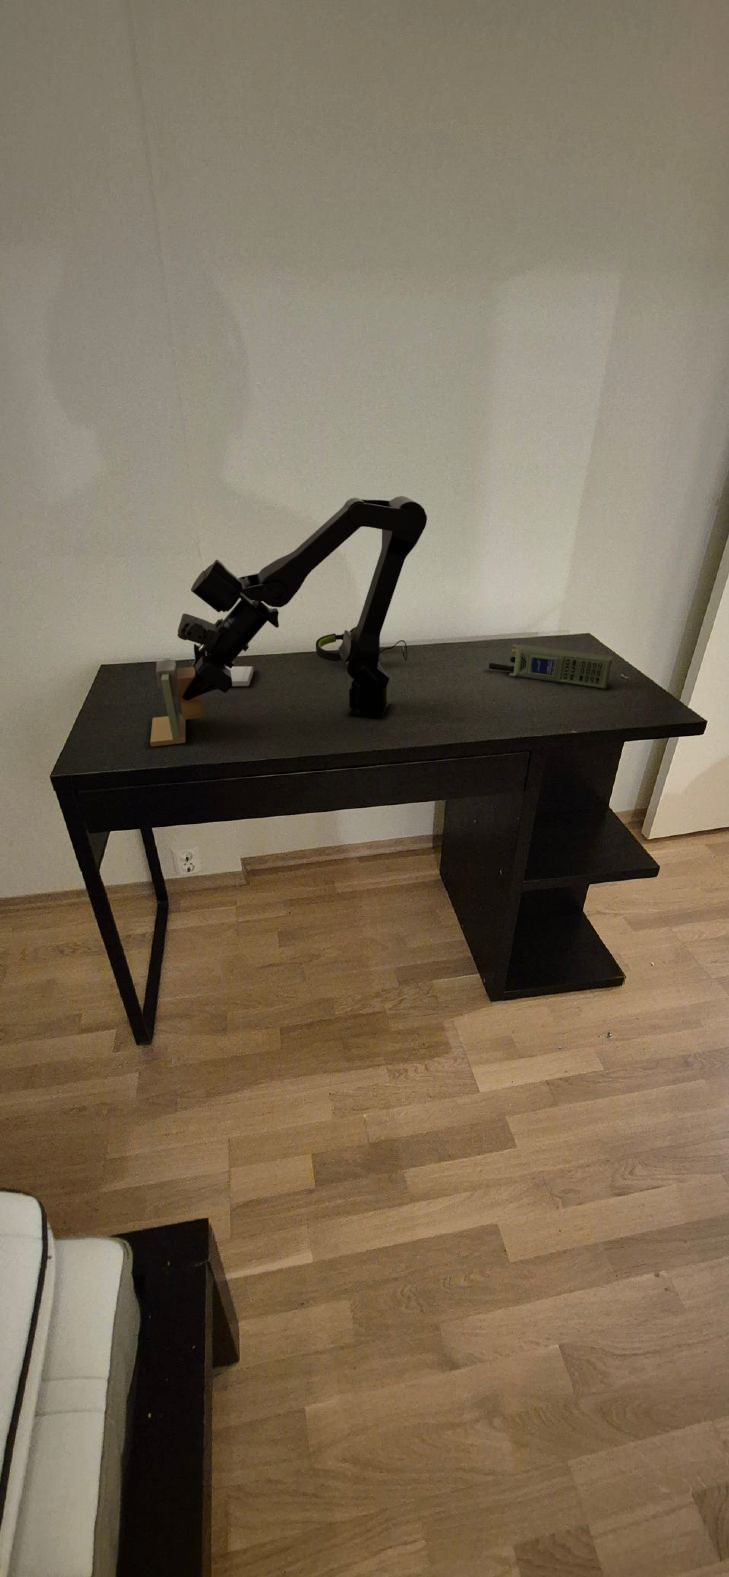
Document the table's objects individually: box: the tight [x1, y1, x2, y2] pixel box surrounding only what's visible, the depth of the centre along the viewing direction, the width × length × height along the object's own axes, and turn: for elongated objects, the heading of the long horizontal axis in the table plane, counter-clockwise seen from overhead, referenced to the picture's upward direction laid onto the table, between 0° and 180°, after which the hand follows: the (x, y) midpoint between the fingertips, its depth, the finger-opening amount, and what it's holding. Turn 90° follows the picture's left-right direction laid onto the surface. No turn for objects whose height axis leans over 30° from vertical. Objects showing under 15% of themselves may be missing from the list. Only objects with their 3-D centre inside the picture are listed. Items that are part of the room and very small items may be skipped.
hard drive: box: [225, 666, 254, 687], centre depth 143 cm, size 2×8×12 cm
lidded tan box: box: [155, 659, 204, 720], centre depth 119 cm, size 7×5×10 cm
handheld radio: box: [488, 643, 613, 690], centre depth 140 cm, size 7×3×25 cm
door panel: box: [149, 658, 187, 747], centre depth 119 cm, size 6×10×12 cm, turn 13°
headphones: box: [315, 626, 408, 662], centre depth 149 cm, size 16×10×20 cm
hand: (184, 692), depth 119 cm, fingers closed on lidded tan box, 5 cm apart
